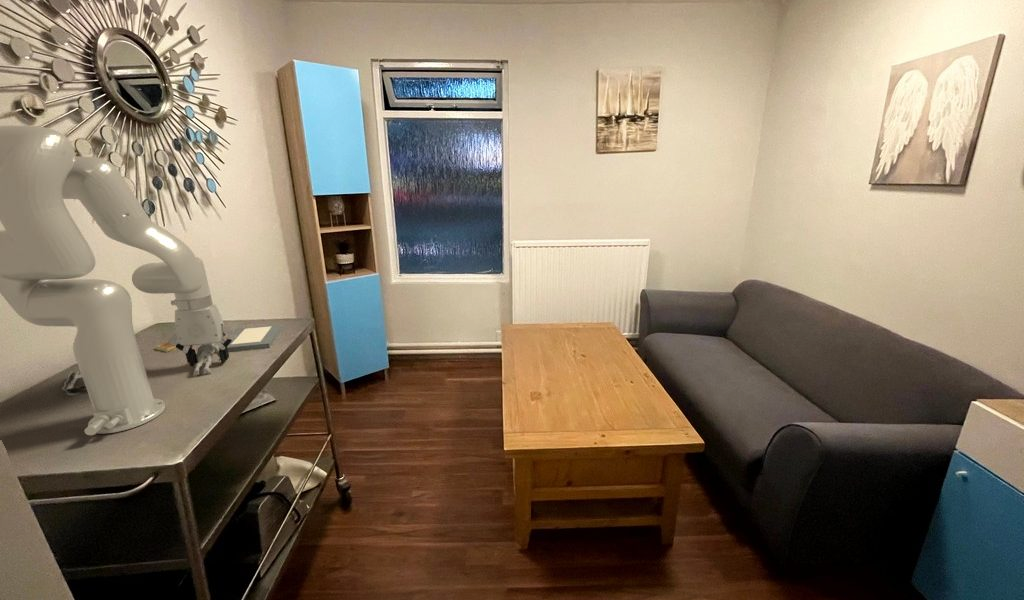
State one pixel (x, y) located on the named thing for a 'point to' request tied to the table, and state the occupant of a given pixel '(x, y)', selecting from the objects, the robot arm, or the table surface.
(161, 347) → the shard
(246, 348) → the base plate
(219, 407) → the table surface
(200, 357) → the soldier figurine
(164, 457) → the table surface
